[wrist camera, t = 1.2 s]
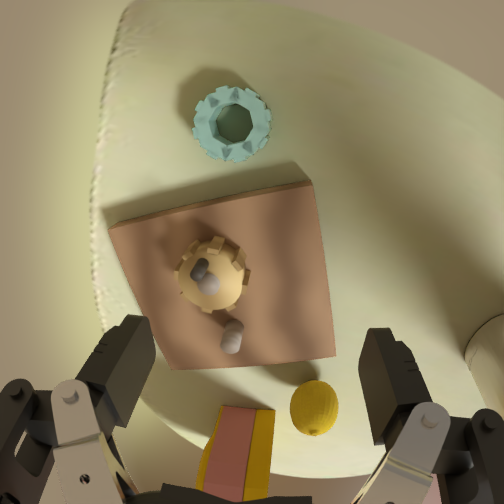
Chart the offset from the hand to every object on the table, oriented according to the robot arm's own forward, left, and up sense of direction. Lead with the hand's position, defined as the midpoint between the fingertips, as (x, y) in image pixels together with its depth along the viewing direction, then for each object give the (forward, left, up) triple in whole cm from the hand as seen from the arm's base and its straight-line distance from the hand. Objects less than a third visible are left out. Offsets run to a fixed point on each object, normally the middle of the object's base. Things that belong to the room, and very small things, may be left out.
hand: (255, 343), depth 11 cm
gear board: (+6, +8, -18) cm, 20 cm away
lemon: (0, +23, -18) cm, 29 cm away
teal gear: (+2, -7, -18) cm, 19 cm away
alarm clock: (+11, +33, -18) cm, 39 cm away
